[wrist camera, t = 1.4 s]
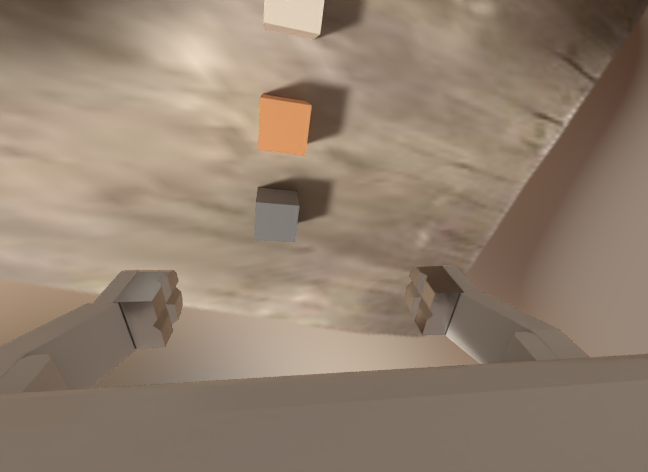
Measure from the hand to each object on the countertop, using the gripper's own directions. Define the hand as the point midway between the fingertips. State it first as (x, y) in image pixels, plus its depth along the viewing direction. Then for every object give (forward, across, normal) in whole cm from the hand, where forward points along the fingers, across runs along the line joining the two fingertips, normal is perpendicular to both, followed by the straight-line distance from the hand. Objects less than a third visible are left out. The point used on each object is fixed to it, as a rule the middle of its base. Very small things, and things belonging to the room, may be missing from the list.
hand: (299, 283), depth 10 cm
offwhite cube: (+28, 0, -13) cm, 31 cm away
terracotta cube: (+28, +1, -2) cm, 28 cm away
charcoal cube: (+28, +2, +9) cm, 30 cm away
